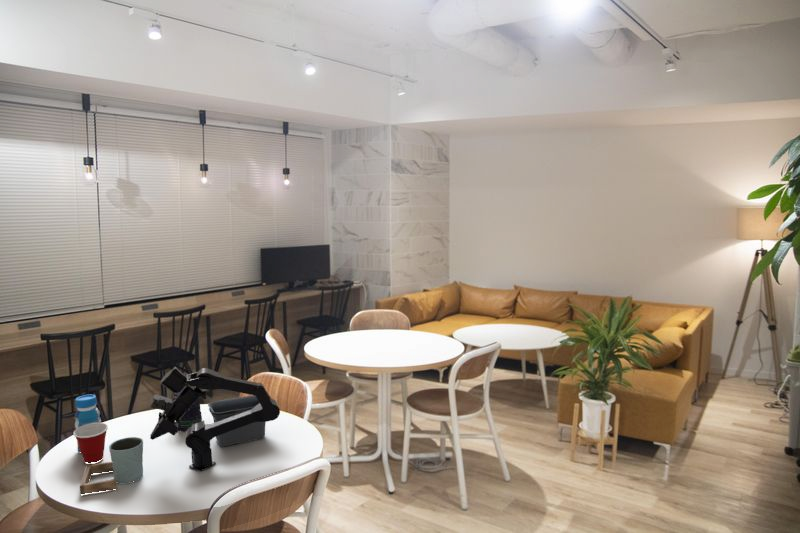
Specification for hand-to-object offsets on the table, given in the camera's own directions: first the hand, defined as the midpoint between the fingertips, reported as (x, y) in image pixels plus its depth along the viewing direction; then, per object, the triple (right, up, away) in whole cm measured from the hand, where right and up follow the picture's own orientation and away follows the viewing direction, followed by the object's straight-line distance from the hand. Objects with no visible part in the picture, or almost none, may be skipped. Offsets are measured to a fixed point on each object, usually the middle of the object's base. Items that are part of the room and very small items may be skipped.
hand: (151, 437), depth 196 cm
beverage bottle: (-31, -11, +21) cm, 39 cm away
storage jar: (-2, -8, +41) cm, 42 cm away
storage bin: (+23, -9, +27) cm, 37 cm away
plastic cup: (-25, -12, +12) cm, 30 cm away
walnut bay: (-14, -14, -4) cm, 20 cm away
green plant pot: (-7, -13, -1) cm, 15 cm away
